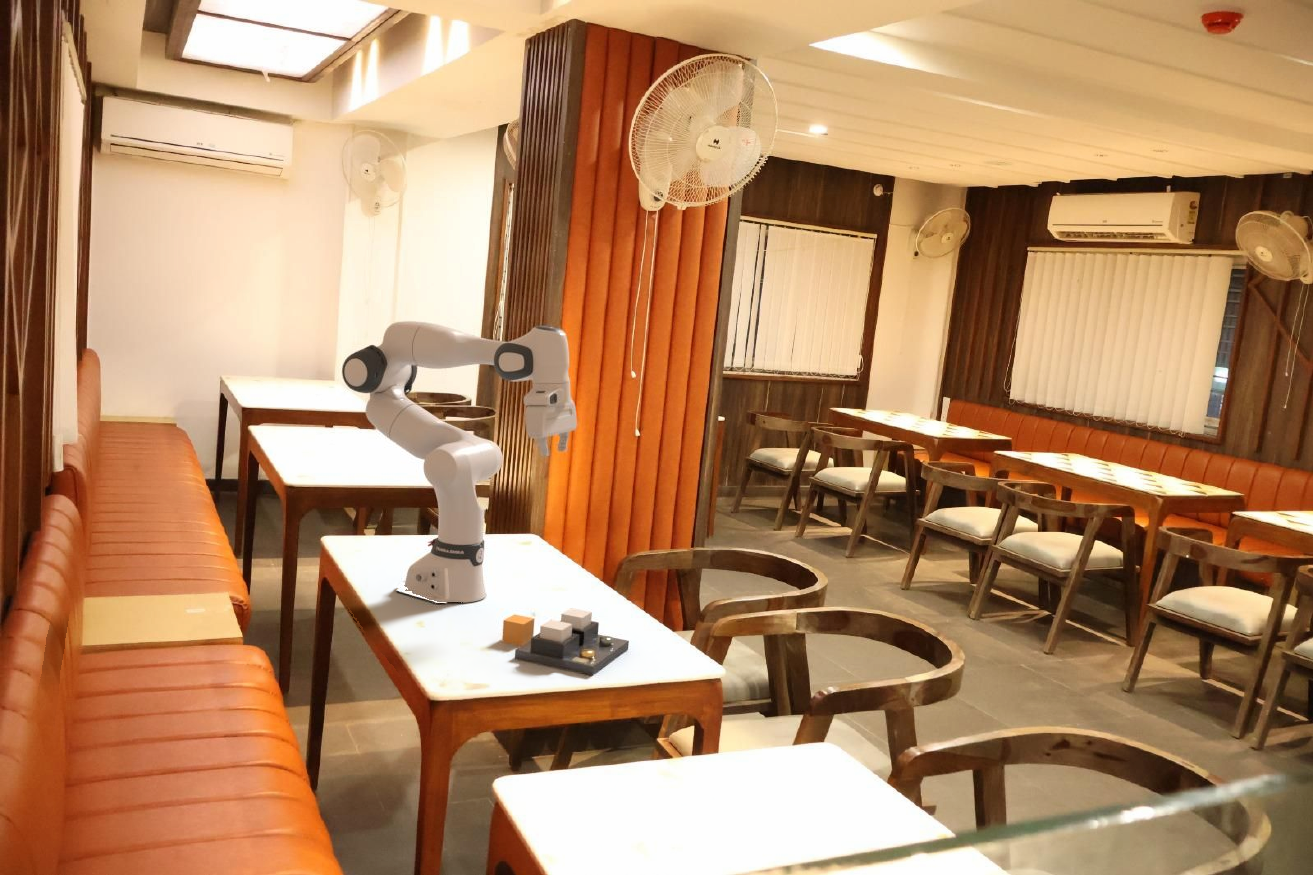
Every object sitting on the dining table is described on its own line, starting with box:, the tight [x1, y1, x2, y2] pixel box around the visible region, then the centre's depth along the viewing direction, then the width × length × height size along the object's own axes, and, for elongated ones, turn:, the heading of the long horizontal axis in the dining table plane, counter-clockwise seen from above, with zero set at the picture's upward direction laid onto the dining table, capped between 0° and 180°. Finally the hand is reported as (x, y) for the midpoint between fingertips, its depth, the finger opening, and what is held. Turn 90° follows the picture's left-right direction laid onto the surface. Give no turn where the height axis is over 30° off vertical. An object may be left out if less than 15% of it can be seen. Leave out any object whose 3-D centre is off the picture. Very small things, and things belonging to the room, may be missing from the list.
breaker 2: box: [560, 607, 593, 630], centre depth 234 cm, size 5×5×3 cm
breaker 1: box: [539, 619, 572, 642], centre depth 225 cm, size 5×5×3 cm
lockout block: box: [501, 614, 535, 647], centre depth 235 cm, size 5×5×5 cm
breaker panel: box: [514, 620, 630, 676], centre depth 229 cm, size 18×19×5 cm
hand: (553, 453), depth 252 cm, fingers open, 8 cm apart
